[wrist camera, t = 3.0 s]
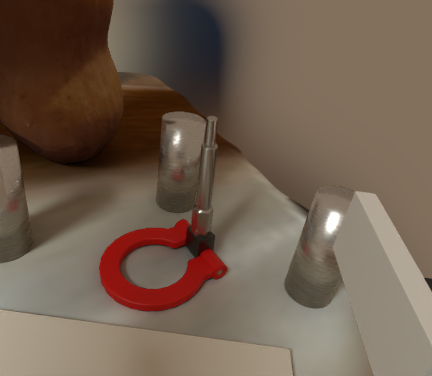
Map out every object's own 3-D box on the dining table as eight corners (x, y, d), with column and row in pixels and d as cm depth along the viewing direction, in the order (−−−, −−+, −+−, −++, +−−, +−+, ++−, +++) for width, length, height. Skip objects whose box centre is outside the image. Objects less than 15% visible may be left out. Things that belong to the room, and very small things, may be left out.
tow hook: (125, 334, 25) (233, 283, 30) (115, 177, 18) (260, 142, 23) (86, 256, 31) (182, 223, 36) (66, 111, 24) (191, 94, 28)
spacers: (-32, 241, 30) (-61, 141, 25) (161, 170, 43) (167, 95, 38) (152, 501, 18) (166, 405, 13) (340, 290, 31) (382, 204, 26)
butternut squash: (143, 146, 47) (154, -99, 34) (78, 198, 36) (54, -132, 23) (51, 118, 50) (27, -119, 36) (-36, 159, 39) (-118, -157, 25)
